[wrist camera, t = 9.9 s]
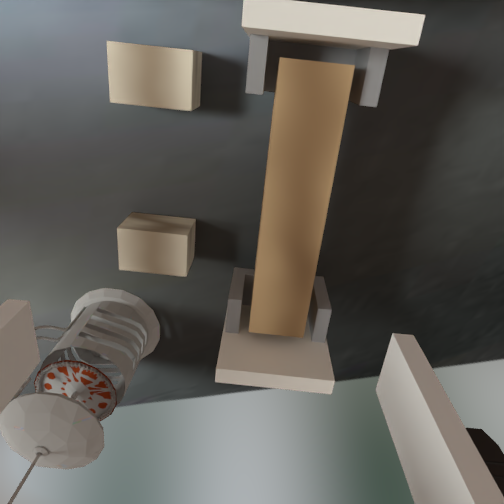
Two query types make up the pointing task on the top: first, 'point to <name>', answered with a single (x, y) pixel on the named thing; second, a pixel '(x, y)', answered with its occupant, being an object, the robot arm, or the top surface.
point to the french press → (80, 381)
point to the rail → (297, 190)
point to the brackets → (362, 93)
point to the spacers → (162, 96)
